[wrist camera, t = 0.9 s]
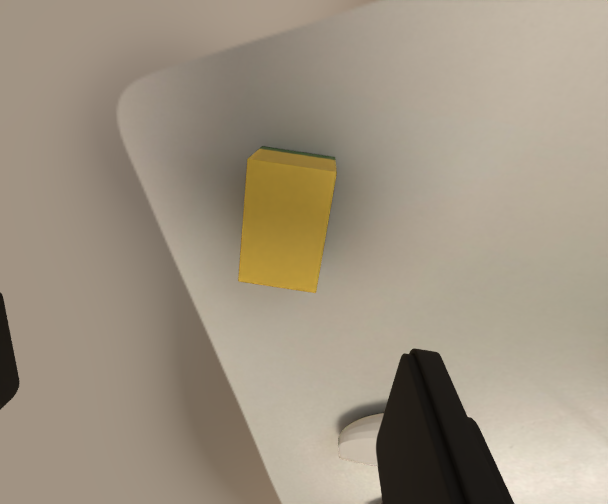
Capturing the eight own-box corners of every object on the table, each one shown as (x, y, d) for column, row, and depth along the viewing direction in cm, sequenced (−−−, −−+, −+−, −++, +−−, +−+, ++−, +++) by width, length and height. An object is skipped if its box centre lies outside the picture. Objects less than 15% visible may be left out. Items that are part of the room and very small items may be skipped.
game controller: (325, 444, 28) (469, 446, 24) (336, 398, 32) (462, 394, 28) (373, 557, 33) (497, 573, 29) (377, 506, 37) (488, 514, 33)
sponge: (261, 146, 23) (247, 158, 18) (335, 157, 23) (336, 172, 18) (252, 250, 25) (237, 281, 21) (317, 260, 25) (315, 293, 21)
